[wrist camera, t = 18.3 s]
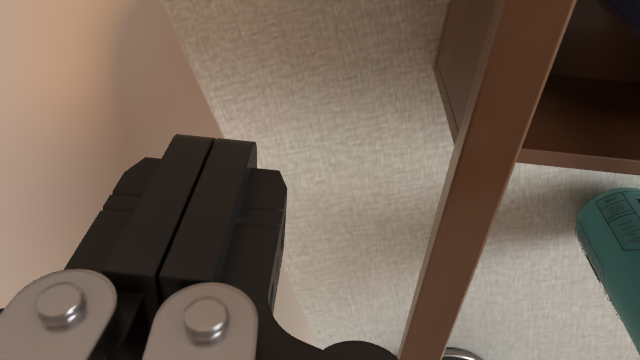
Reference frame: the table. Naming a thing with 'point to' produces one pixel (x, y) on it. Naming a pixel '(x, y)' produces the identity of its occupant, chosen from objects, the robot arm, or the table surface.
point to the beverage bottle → (615, 250)
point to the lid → (482, 163)
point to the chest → (558, 88)
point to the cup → (624, 13)
